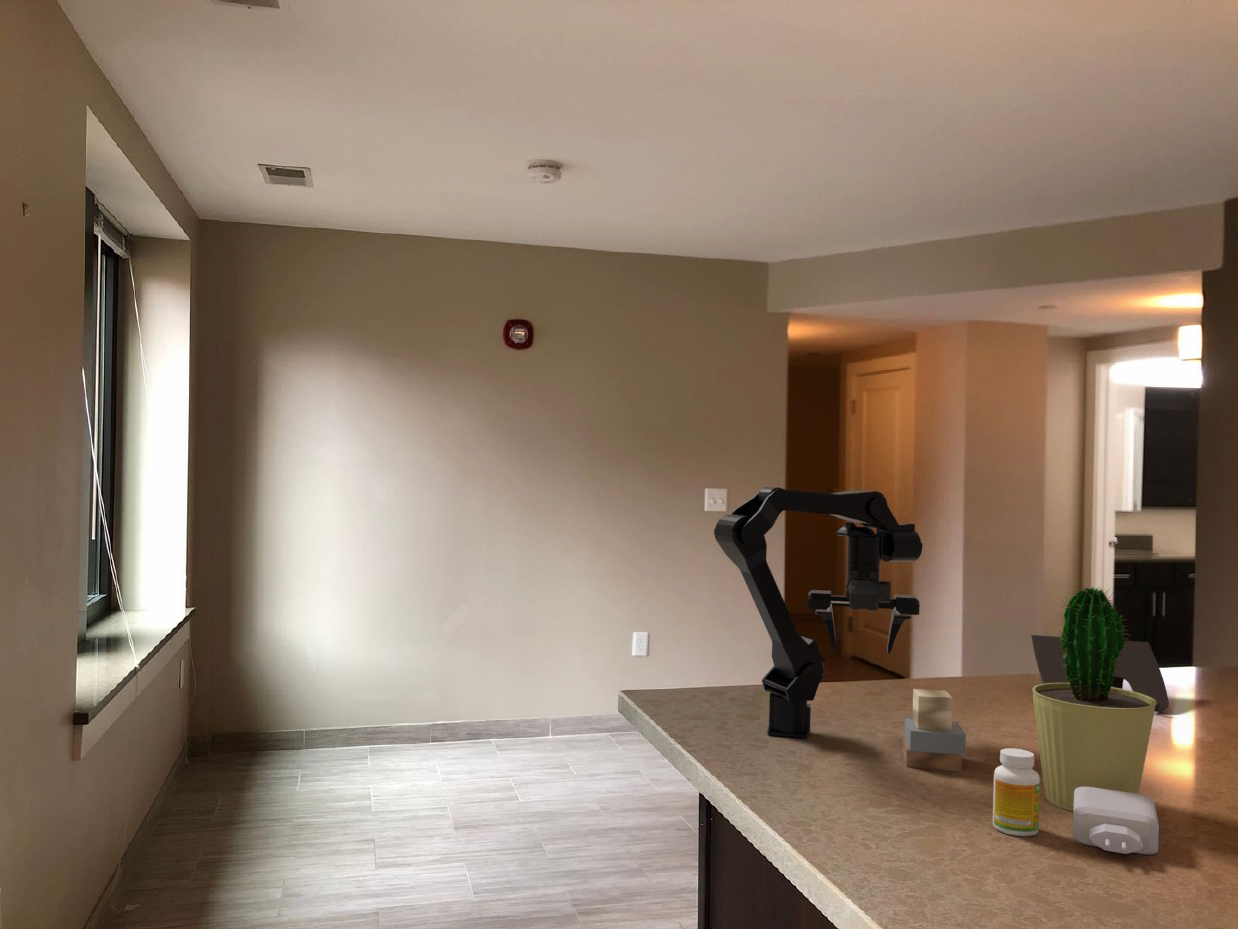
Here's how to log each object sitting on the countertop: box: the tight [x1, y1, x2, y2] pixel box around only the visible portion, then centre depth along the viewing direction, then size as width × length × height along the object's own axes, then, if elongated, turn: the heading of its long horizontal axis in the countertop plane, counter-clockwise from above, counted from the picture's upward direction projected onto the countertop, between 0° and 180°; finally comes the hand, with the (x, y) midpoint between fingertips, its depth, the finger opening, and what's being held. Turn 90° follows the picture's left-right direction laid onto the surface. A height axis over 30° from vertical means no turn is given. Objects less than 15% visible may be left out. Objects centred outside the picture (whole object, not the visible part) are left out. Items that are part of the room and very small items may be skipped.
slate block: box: [903, 717, 967, 756], centre depth 155 cm, size 8×8×3 cm
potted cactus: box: [1031, 583, 1157, 812], centre depth 138 cm, size 15×15×30 cm
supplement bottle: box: [992, 747, 1041, 837], centre depth 127 cm, size 5×5×10 cm
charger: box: [1072, 786, 1160, 856], centre depth 122 cm, size 5×9×15 cm
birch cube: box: [912, 688, 954, 731], centre depth 155 cm, size 5×5×5 cm
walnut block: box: [902, 735, 963, 772], centre depth 155 cm, size 8×8×3 cm
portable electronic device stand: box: [1030, 634, 1170, 716], centre depth 202 cm, size 23×23×9 cm
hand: (861, 651), depth 175 cm, fingers open, 9 cm apart
